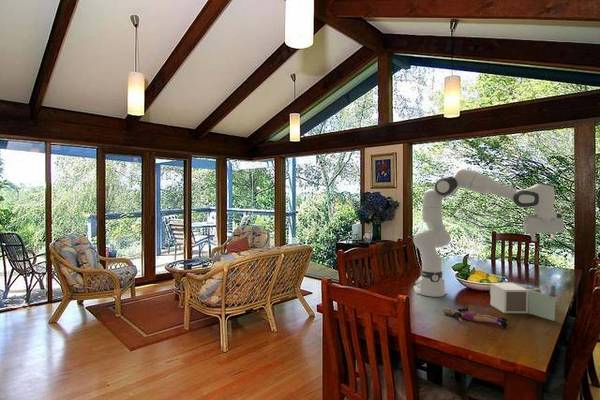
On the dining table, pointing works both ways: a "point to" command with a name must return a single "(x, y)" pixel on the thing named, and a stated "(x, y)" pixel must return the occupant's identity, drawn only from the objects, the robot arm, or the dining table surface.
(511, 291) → the carton
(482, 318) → the character figurine
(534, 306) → the end flap
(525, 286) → the toy car
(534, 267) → the dining table surface
